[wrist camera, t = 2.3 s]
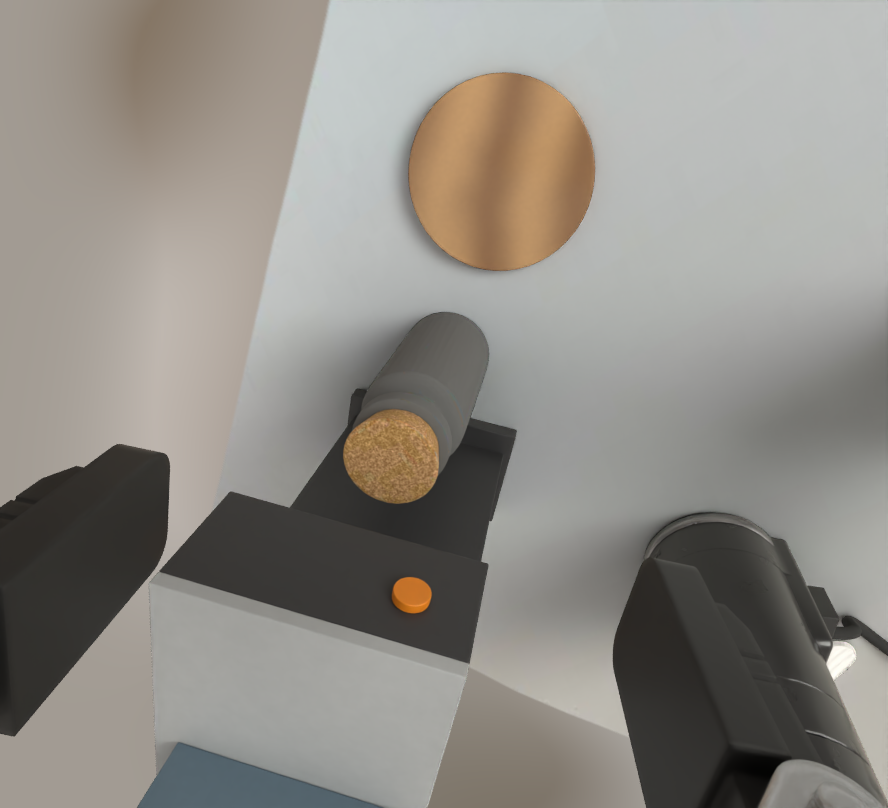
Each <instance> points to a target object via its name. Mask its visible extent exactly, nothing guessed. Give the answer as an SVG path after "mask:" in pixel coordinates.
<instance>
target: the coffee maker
mask: <svg viewBox="0 0 888 808" xmlns="http://www.w3.org/2000/svg"><path fill="white" fill-rule="evenodd" d="M366 392H367V391H365V390H361V389H356V390H355V391H354V393H353V394H352V396H351V404H350V411H349V418H348V426H347V428H346V429H345V431H344V432H343V433H342V435H341V436H340V438H339V439H338V440H337V442H336V443H335V445H334V446H333V448H332V449H331V450H330V452H329V453H328V455H327V456H326V457H325V459H324V460H323V462H322V463H321V464H320V466H319V467H318V469H317V470H316V472H315V473H314V474H313V476H312V477H311V479H310V480H309V481H308V483H307V484H306V486H305V487H304V488H303V490H302V491H301V493H300V494H299V495H298V497H297V498H296V500H295V501H294V503H293V504H292V505H291V507H290V508H288V507H284V506H281V505H277V504H274V503H270V502H267V501H263V500H260V499H256V498H252V497H249V496H245V495H242V494H238V493H235V492H229V493H228V495H227V496H226V497H225V498H224V499H223V500H222V501H221V502H220V504H219V505H218V506H217V507H216V508H215V509H214V510H213V511H212V513H211V514H210V515H209V516H208V517H207V518H206V519H205V520H204V522H203V523H202V524H201V525H200V526H199V527H198V528H197V529H196V531H195V532H194V533H193V534H192V535H191V536H190V537H189V538H188V540H187V541H186V542H185V543H184V544H183V545H182V546H181V547H180V549H179V550H178V551H177V552H176V553H175V554H174V555H173V556H172V557H171V559H170V560H169V561H168V562H167V563H166V564H165V565H164V566H163V568H162V569H161V570H160V572H158V573H157V574H156V575H155V577H154V578H153V579H152V580H151V581H150V582H149V603H150V628H151V652H152V674H153V675H152V676H153V701H154V726H155V750H156V772H157V773H156V775H157V776H156V778H155V779H154V781H153V783H152V784H151V786H150V788H149V789H148V791H147V792H146V794H145V795H144V797H143V799H142V800H141V802H140V803H139V805H138V807H137V808H427V806H428V803H429V800H430V797H431V793H432V790H433V787H434V784H435V780H436V777H437V774H438V770H439V767H440V764H441V761H442V757H443V754H444V751H445V747H446V744H447V741H448V738H449V734H450V731H451V728H452V724H453V721H454V718H455V715H456V711H457V708H458V705H459V701H460V698H461V695H462V691H463V688H464V685H465V681H466V678H467V674H468V669H469V663H470V658H471V653H472V648H473V643H474V637H475V632H476V627H477V622H478V617H479V611H480V606H481V601H482V596H483V591H484V585H485V580H486V575H487V570H488V564H487V563H483V562H481V558H482V554H483V549H484V544H485V539H486V535H487V530H488V525H489V521H492V519H493V515H494V512H495V508H496V505H497V501H498V498H499V494H500V491H501V487H502V483H503V480H504V476H505V473H506V469H507V466H508V462H509V459H510V455H511V452H512V448H513V445H514V441H515V437H516V432H517V431H516V430H514V429H510V428H506V427H502V426H498V425H495V424H491V423H487V422H483V421H479V420H476V419H472V418H470V420H469V422H468V425H467V428H466V431H465V434H464V436H463V438H462V441H461V443H460V445H459V446H458V448H457V449H456V450H455V451H454V453H453V454H451V455H450V456H449V459H448V461H447V463H446V465H445V467H444V469H443V470H442V472H441V473H440V474H439V475H438V476H437V479H436V481H435V484H434V485H433V487H432V488H431V490H430V491H429V492H428V493H427V494H425V495H424V496H423V497H421V498H419V499H417V500H415V501H412V502H408V503H401V504H394V503H387V502H384V501H380V500H377V499H375V498H373V497H371V496H369V495H367V494H366V493H364V492H363V491H362V490H361V489H360V488H359V487H358V486H357V485H356V484H355V483H354V482H353V481H352V479H351V478H350V476H349V475H348V472H347V470H346V468H345V465H344V459H343V450H344V445H345V442H346V439H347V437H348V436H349V434H350V433H351V432H352V428H353V424H354V422H355V420H356V418H357V416H358V415H359V413H360V412H361V407H362V402H363V399H364V397H365V394H366Z"/></svg>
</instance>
